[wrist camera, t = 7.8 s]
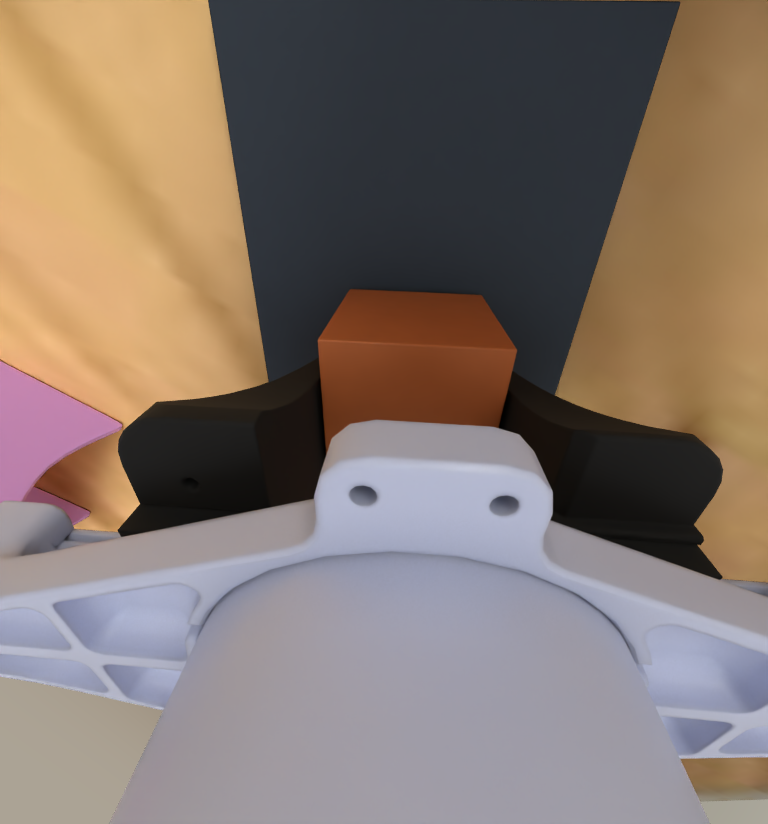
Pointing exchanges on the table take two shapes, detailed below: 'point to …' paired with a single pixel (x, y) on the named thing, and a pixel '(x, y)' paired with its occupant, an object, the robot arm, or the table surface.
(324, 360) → the orange box
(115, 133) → the table surface
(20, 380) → the toy chair
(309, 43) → the back mat
